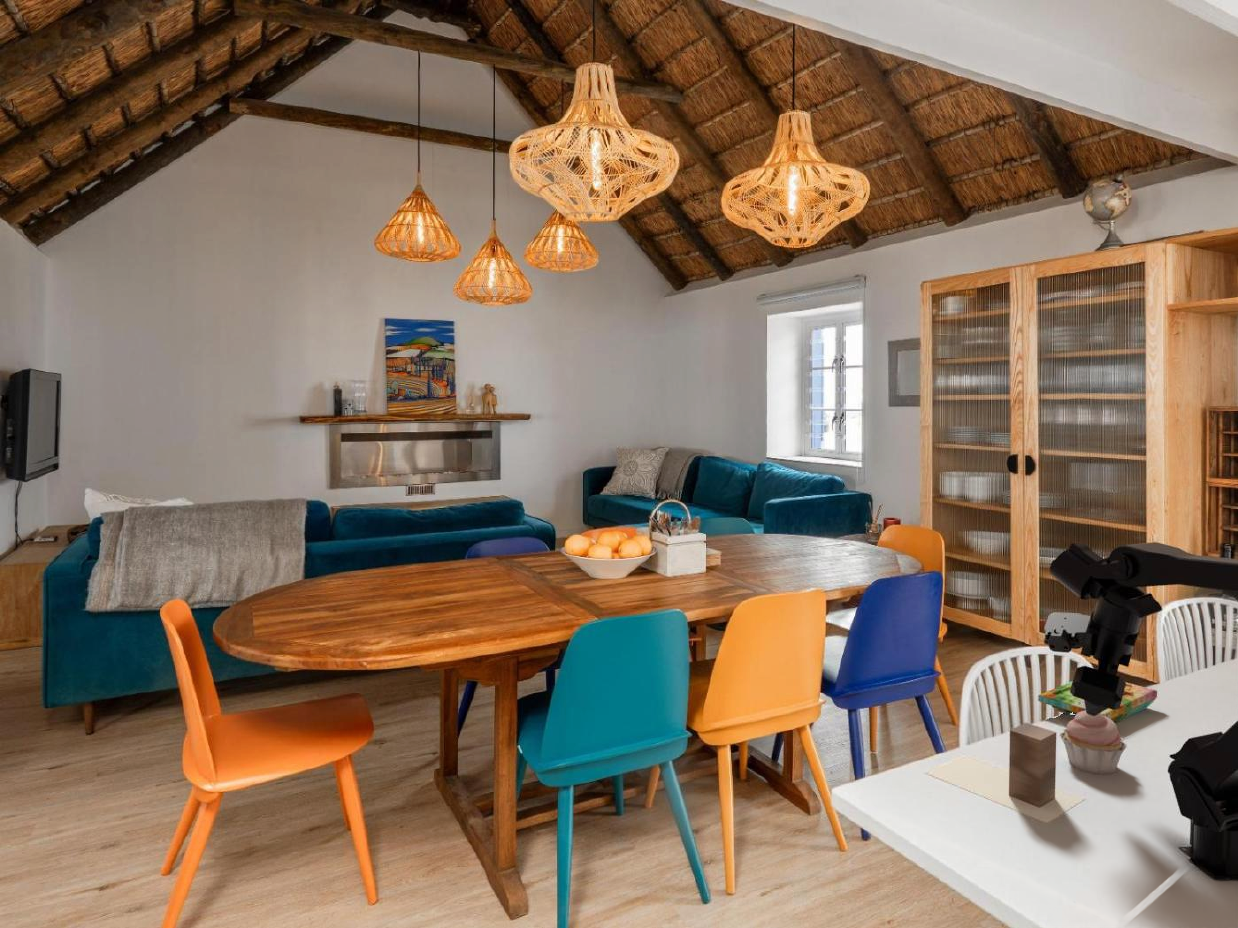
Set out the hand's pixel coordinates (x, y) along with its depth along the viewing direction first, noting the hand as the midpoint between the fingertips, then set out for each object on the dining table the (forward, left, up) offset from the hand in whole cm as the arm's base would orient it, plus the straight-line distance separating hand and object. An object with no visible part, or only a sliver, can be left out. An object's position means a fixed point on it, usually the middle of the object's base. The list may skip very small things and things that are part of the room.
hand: (1096, 693), depth 121 cm
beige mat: (-2, +15, -14) cm, 21 cm away
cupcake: (+4, -2, -14) cm, 15 cm away
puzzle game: (+27, -17, -15) cm, 35 cm away
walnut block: (-6, +13, -13) cm, 19 cm away
